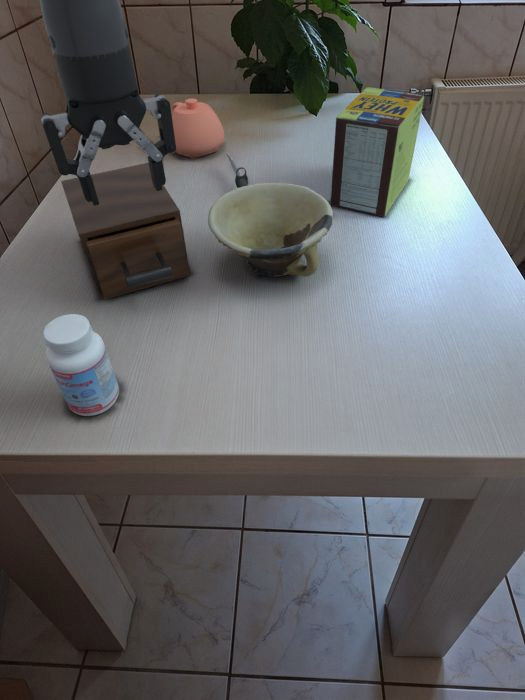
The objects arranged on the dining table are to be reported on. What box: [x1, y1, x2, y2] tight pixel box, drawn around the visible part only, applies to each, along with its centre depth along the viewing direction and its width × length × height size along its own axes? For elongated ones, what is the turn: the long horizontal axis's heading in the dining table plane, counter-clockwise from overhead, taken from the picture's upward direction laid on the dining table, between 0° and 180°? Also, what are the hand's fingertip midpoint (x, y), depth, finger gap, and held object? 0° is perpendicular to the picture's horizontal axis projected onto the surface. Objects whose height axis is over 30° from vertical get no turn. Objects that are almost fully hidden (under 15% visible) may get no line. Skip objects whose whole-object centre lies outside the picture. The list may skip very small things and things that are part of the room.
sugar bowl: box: [171, 98, 226, 160], centre depth 105 cm, size 12×14×10 cm
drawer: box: [86, 218, 190, 300], centre depth 73 cm, size 21×13×9 cm, turn 24°
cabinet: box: [60, 162, 191, 299], centre depth 76 cm, size 17×14×11 cm
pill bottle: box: [42, 313, 120, 417], centre depth 55 cm, size 6×6×11 cm
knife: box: [226, 151, 249, 189], centre depth 93 cm, size 19×2×5 cm, turn 16°
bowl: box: [207, 182, 334, 278], centre depth 73 cm, size 18×18×10 cm
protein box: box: [329, 86, 425, 218], centre depth 87 cm, size 10×15×16 cm
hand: (126, 195), depth 61 cm, fingers open, 7 cm apart
